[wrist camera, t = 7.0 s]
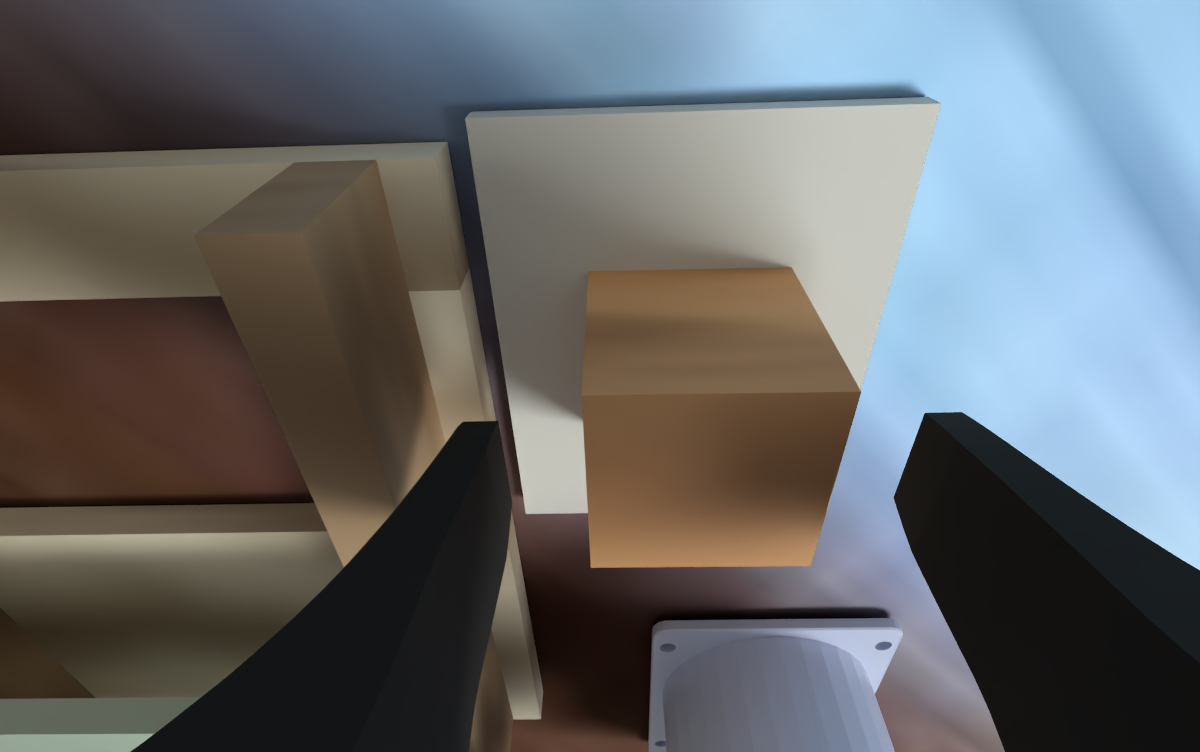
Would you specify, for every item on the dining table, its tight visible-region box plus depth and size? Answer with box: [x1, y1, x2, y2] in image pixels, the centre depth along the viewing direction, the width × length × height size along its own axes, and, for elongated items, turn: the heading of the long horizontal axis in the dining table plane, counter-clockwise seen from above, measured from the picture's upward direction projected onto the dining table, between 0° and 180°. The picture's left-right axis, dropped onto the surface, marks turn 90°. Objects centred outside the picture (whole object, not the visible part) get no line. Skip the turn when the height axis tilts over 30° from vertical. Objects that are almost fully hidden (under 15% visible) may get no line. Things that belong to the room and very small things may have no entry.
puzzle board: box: [0, 142, 543, 752], centre depth 15 cm, size 20×18×4 cm
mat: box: [465, 97, 941, 514], centre depth 13 cm, size 10×8×1 cm
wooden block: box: [582, 267, 861, 568], centre depth 11 cm, size 4×4×4 cm
